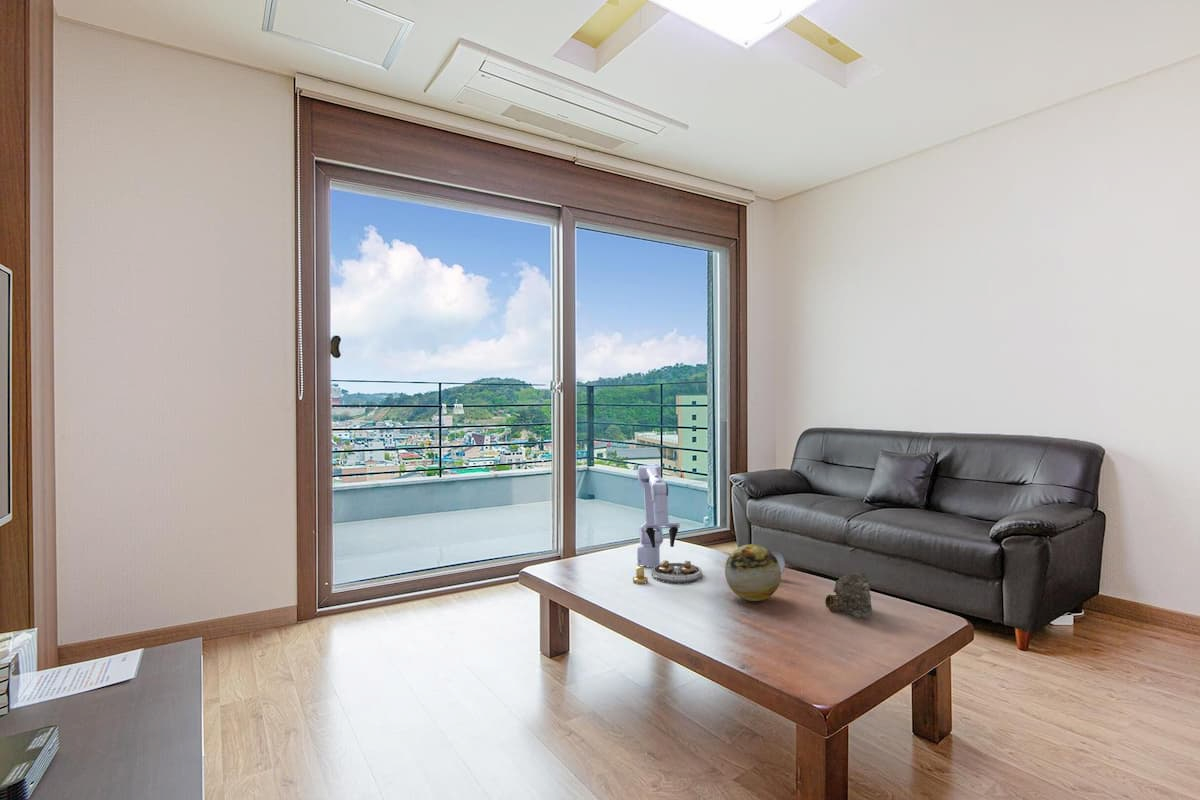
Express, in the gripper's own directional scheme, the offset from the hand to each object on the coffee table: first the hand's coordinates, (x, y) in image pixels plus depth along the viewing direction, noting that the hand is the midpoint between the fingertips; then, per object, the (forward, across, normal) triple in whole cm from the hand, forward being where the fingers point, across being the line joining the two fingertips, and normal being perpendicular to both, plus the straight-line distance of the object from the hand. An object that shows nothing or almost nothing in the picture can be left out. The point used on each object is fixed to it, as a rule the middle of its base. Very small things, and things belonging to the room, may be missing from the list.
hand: (662, 547), depth 242 cm
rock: (+24, +52, -42) cm, 71 cm away
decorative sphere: (+20, +27, -22) cm, 40 cm away
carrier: (+12, +9, +12) cm, 19 cm away
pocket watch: (+15, +40, -3) cm, 43 cm away
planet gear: (+13, -8, +8) cm, 17 cm away
